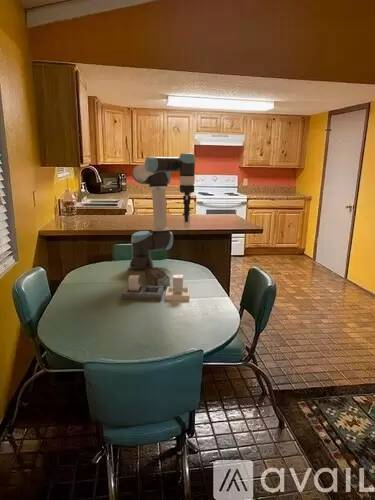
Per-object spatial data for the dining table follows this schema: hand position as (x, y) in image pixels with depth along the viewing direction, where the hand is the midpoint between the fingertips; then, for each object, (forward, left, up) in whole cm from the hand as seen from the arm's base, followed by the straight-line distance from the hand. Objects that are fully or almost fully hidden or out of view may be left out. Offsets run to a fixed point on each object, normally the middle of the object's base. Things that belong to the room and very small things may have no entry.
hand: (186, 225), depth 179 cm
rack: (+12, -22, -35) cm, 43 cm away
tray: (+12, -4, -35) cm, 37 cm away
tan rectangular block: (+12, -4, -34) cm, 36 cm away
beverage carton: (-7, -17, -35) cm, 40 cm away
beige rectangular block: (+12, -26, -35) cm, 45 cm away
